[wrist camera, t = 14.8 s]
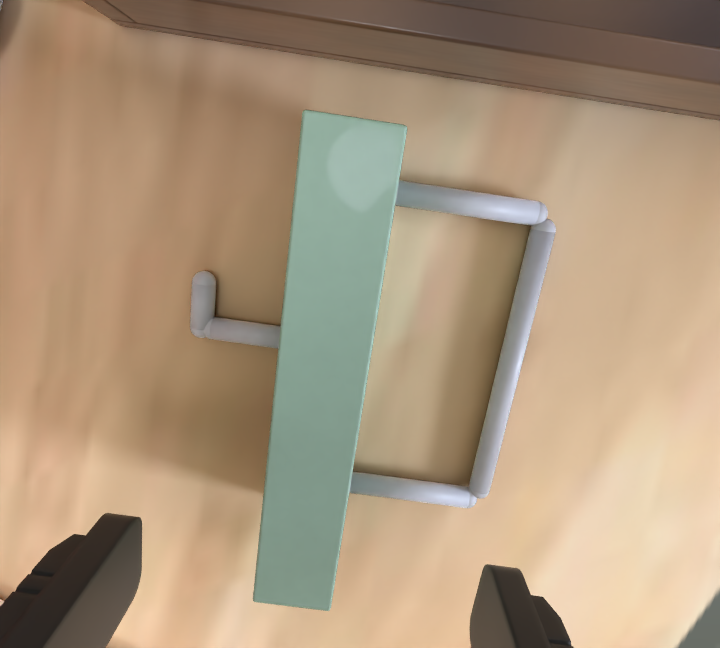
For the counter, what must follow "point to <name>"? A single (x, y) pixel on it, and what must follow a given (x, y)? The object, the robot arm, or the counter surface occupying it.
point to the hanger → (352, 345)
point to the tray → (480, 41)
